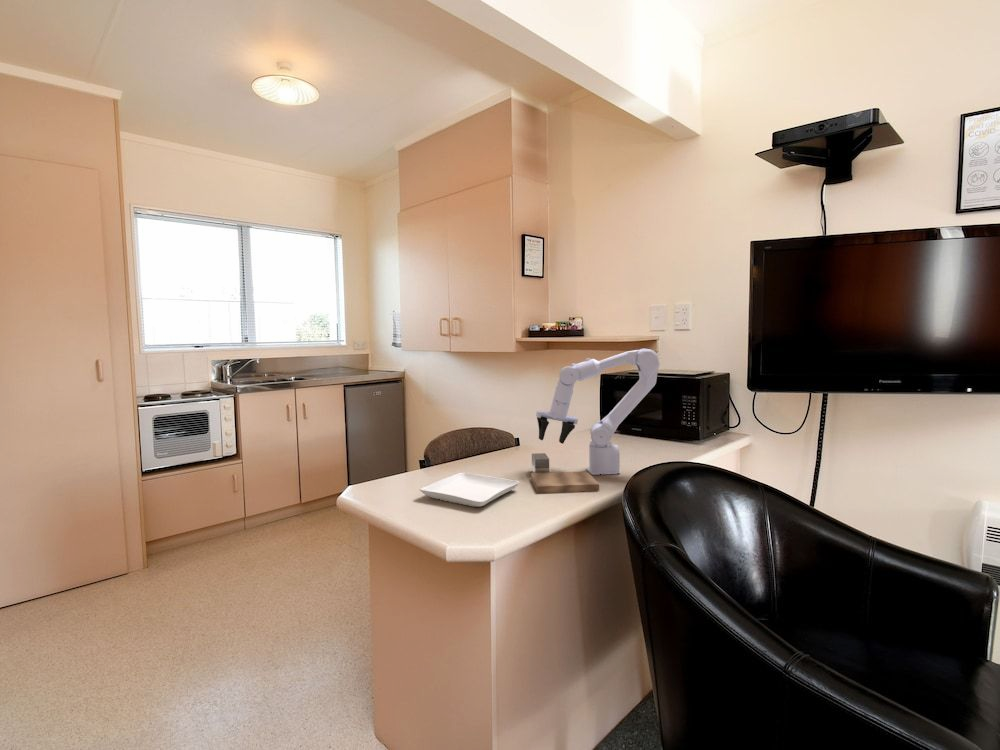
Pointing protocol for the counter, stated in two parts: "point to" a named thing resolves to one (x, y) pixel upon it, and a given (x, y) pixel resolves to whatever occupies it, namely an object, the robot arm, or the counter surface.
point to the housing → (540, 463)
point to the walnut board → (564, 482)
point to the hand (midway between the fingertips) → (550, 441)
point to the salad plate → (469, 489)
